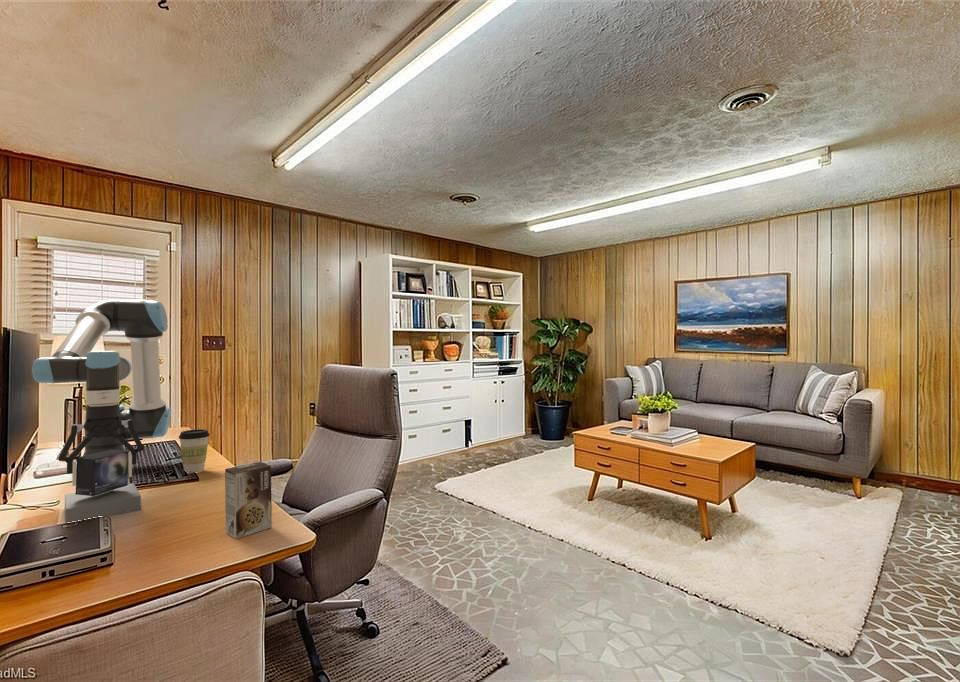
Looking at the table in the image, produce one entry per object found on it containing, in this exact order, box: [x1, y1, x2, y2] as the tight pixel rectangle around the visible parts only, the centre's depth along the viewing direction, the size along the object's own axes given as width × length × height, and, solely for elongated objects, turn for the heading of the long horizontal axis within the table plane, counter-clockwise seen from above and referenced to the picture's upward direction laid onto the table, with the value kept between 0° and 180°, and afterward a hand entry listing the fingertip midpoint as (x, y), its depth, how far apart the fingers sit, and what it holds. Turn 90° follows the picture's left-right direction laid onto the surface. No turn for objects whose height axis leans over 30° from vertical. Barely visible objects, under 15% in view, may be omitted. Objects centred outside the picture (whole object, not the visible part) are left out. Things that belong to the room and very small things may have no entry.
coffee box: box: [224, 461, 273, 539], centre depth 118 cm, size 9×6×16 cm
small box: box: [74, 450, 129, 496], centre depth 134 cm, size 11×6×10 cm, turn 168°
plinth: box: [64, 483, 142, 524], centre depth 134 cm, size 16×16×4 cm
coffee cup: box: [178, 428, 210, 473], centre depth 172 cm, size 10×10×15 cm
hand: (102, 480), depth 134 cm, fingers closed on small box, 12 cm apart
